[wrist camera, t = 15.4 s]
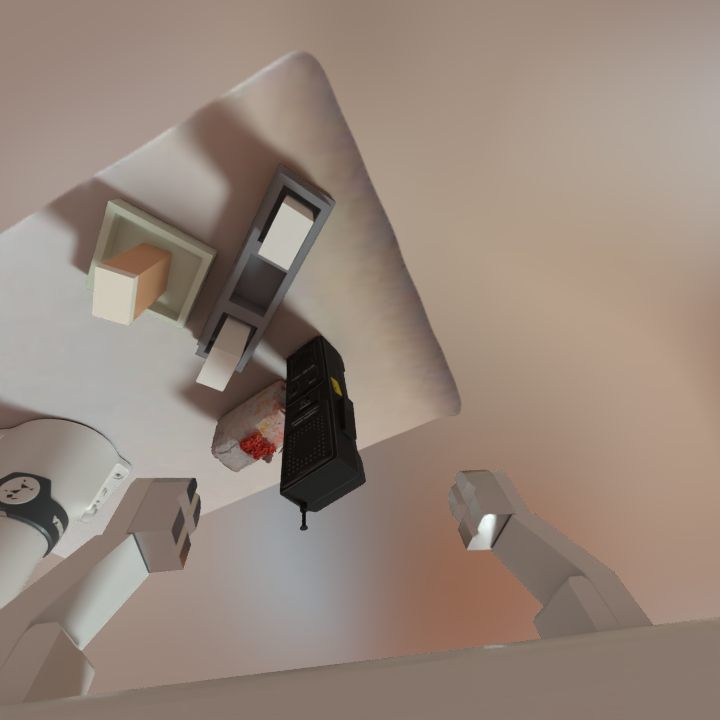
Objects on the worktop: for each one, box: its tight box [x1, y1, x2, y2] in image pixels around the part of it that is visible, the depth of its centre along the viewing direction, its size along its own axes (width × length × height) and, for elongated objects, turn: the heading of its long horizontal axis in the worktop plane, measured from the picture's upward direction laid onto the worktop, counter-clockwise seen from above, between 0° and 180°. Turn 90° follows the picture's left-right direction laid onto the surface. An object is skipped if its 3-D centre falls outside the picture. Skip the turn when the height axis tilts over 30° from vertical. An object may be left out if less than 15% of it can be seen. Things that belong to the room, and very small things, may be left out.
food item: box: [211, 379, 286, 472], centre depth 48 cm, size 14×8×10 cm, turn 123°
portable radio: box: [280, 336, 366, 530], centre depth 38 cm, size 8×6×25 cm
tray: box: [85, 199, 218, 329], centre depth 38 cm, size 11×11×2 cm
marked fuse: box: [92, 242, 172, 325], centre depth 34 cm, size 5×3×10 cm, turn 156°
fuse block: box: [196, 164, 336, 392], centre depth 37 cm, size 25×7×11 cm, turn 147°
